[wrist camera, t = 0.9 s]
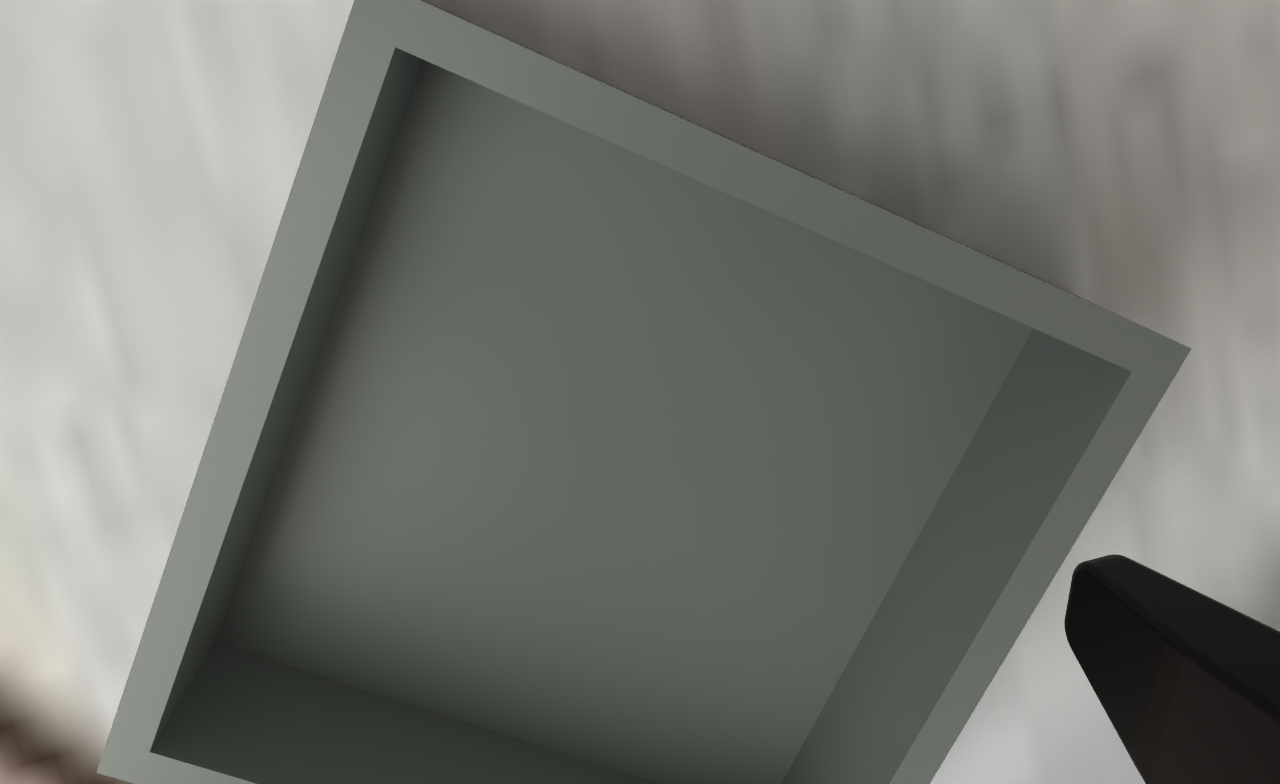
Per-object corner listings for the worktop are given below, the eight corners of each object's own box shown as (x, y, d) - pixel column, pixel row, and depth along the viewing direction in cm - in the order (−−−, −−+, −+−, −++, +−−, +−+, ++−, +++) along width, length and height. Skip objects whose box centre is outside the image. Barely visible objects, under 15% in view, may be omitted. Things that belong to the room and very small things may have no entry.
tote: (772, 832, 27) (812, 978, 23) (180, 645, 24) (96, 773, 20) (1074, 294, 23) (1191, 348, 19) (406, -7, 20) (363, -26, 16)
